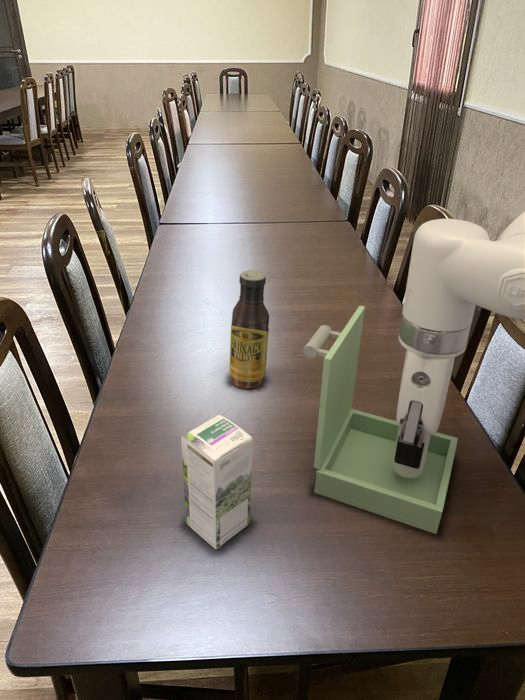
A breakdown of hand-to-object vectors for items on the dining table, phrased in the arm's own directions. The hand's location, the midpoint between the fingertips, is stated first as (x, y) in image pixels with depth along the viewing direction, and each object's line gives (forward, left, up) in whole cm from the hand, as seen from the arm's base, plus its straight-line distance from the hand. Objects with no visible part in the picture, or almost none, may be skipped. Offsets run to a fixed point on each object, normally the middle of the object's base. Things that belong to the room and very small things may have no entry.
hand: (410, 452), depth 70 cm
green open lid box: (+2, 0, -5) cm, 6 cm away
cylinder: (0, 0, -3) cm, 3 cm away
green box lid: (+10, -1, +7) cm, 12 cm away
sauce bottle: (+27, -16, -5) cm, 32 cm away
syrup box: (+21, +15, -5) cm, 26 cm away
